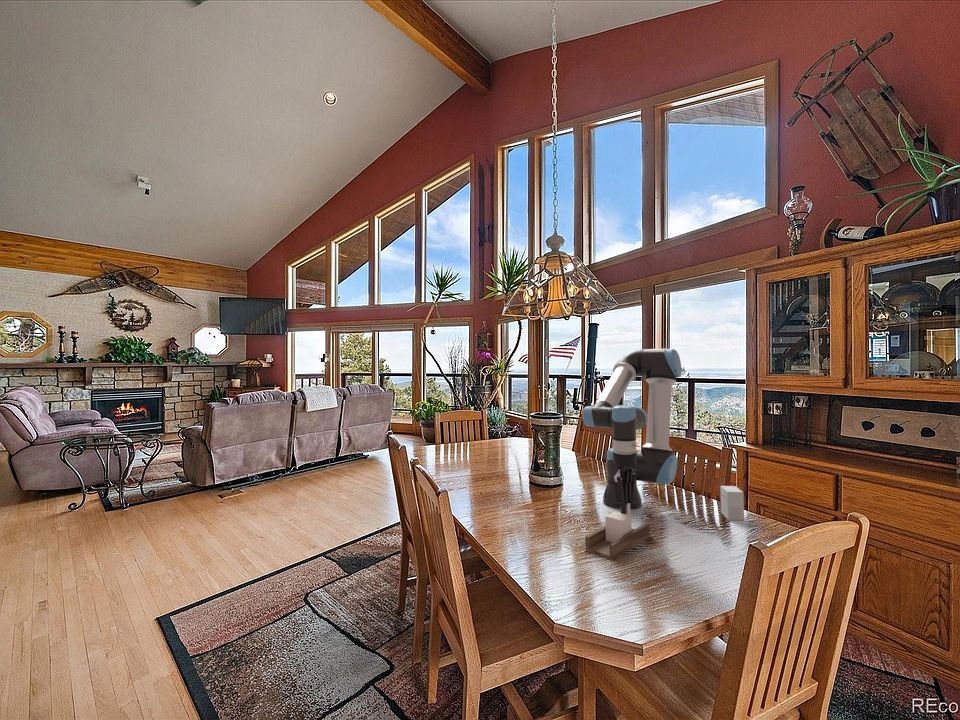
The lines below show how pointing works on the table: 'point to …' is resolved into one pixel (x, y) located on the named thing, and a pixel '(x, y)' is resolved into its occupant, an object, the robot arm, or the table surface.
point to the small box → (732, 502)
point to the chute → (615, 542)
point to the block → (617, 525)
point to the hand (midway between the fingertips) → (625, 522)
